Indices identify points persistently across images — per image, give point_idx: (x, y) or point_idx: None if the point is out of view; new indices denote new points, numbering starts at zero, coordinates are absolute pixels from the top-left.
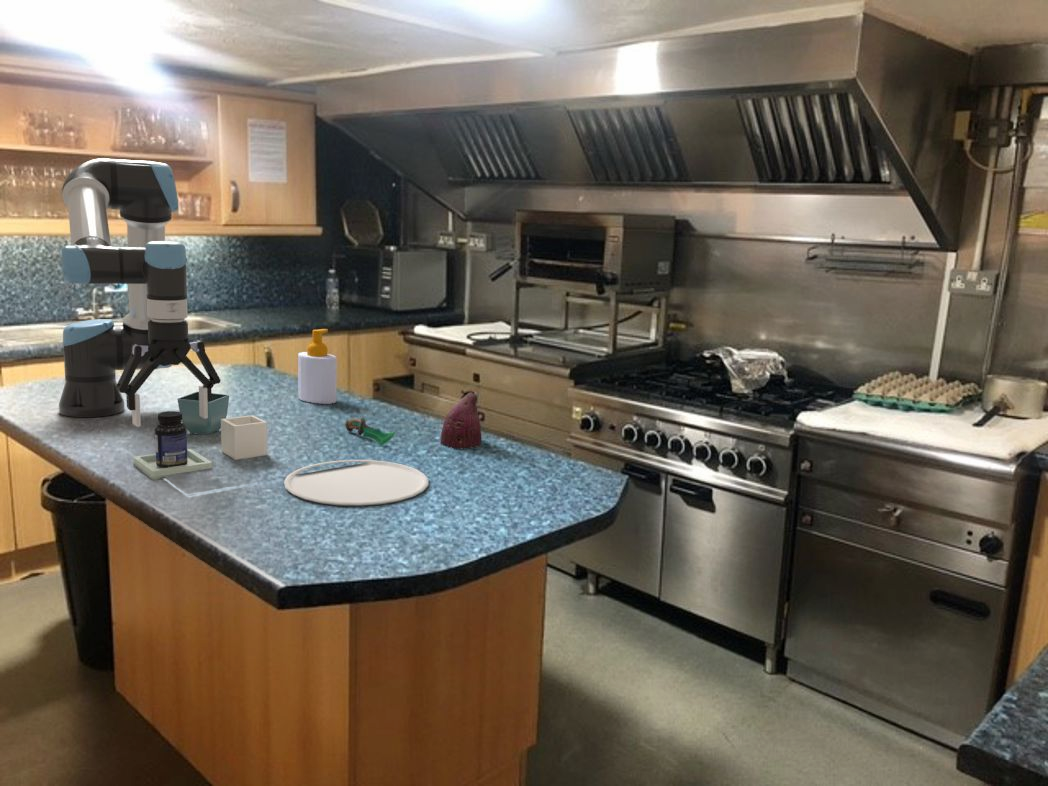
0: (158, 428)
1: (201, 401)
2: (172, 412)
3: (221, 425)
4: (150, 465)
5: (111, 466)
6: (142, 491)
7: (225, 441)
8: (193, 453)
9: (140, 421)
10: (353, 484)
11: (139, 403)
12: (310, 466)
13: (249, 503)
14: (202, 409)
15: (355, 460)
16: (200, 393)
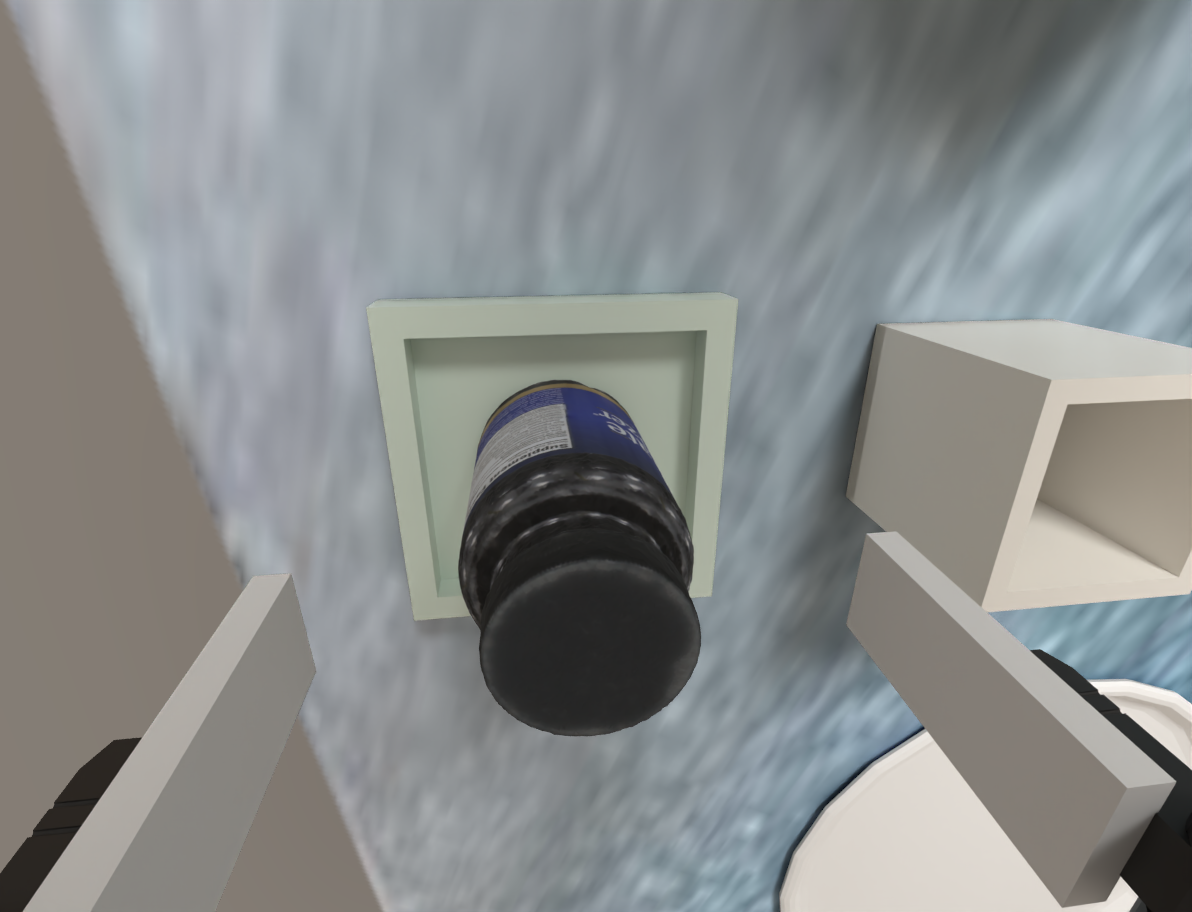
0: (474, 618)
1: (949, 688)
2: (633, 616)
3: (1006, 378)
4: (426, 528)
5: (246, 259)
6: (348, 705)
7: (920, 410)
8: (706, 408)
9: (300, 705)
10: (977, 860)
11: (215, 898)
12: None
13: (641, 898)
14: (894, 648)
15: (1170, 707)
16: (1025, 741)
